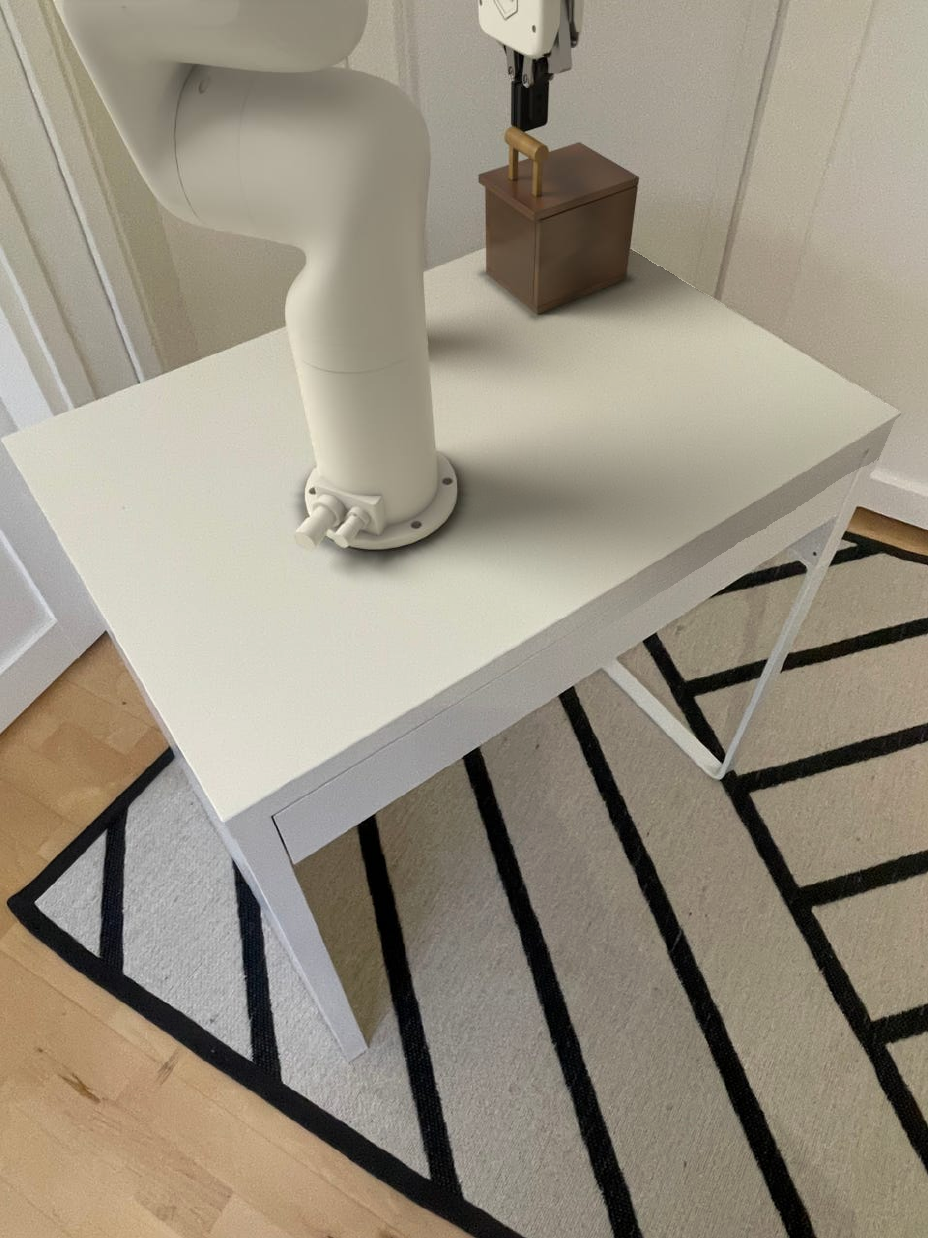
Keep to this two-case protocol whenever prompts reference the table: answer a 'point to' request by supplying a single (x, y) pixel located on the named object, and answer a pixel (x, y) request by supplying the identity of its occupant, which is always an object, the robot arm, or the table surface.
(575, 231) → the chest
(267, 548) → the table surface
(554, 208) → the lid
